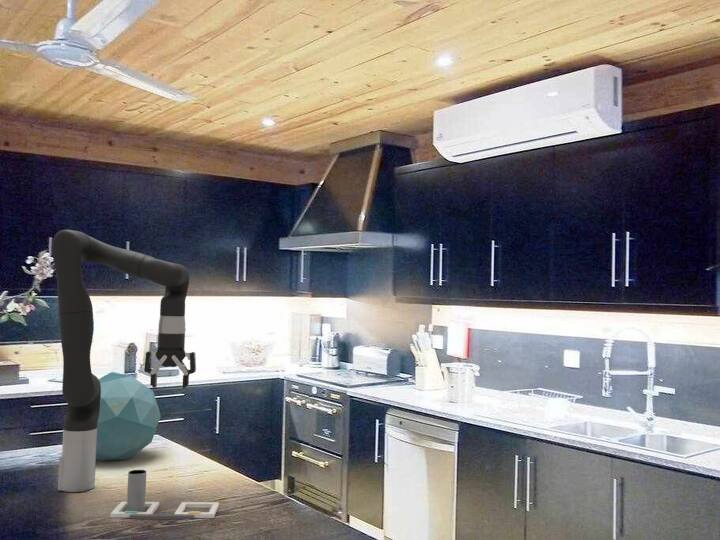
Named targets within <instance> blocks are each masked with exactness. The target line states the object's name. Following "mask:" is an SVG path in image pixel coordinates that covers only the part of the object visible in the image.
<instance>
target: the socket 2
mask: <svg viewBox="0 0 720 540" xmlns="http://www.w3.org/2000/svg"><path fill="white" fill-rule="evenodd" d="M219 507H220V502H218V501H217V502H214V501H213V502H212V501H211V502H210V501H209V502H205V501H204V502H202V501H201V502H200V501H199V502H198V501H197V502H195V501H194V502H193V501H192V502H191V501H182V502H181V503H180V505H179V506H178V508H177V509H176V510H175V512H174V514H173V515H194V519H214V518H215V516H216V514H217V512H218V509H219ZM189 508H190V509H195V508H196V509H197V508H200V509H204V508H205V509H206V508H207V509H209V511H207V512H206V511H204V512H202V511H198V510H197V511H192V510H189V511H185V510H186V509H189Z"/></svg>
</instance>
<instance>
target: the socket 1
mask: <svg viewBox="0 0 720 540" xmlns="http://www.w3.org/2000/svg"><path fill="white" fill-rule="evenodd" d="M159 507H160V501H145V508H148V509H147V510H145V511H144V512H138V511H127V510H126V511H124V510H125V509H126V508H127V501H121V502H120V503H119V504H118V505H117V506H116V507H115V508H114V509H113V510H112V512H110V514H109V515H110V518H114V519H115V518H126V519H129V516H130V515H154V513H156V511H157V510H158V508H159Z"/></svg>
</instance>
